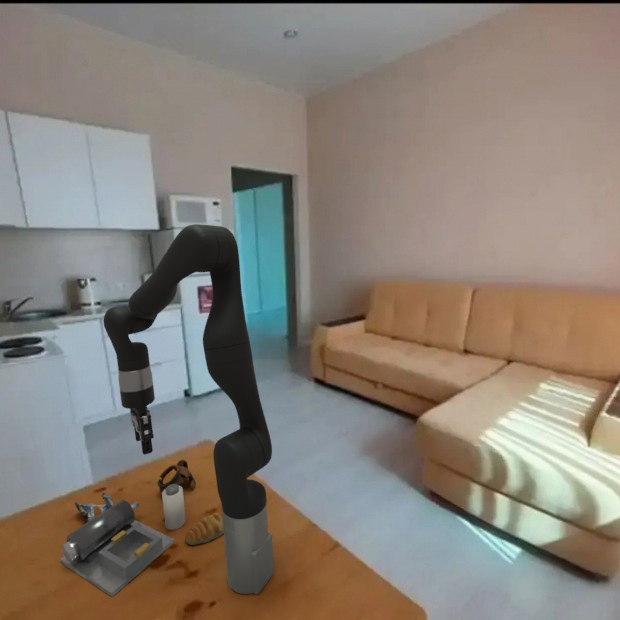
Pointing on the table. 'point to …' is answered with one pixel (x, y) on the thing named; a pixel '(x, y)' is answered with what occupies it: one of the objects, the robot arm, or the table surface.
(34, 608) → the table surface
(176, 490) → the white cylinder roll
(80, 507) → the snack package
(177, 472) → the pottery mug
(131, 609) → the table surface
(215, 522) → the pastry
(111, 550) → the motor unit
